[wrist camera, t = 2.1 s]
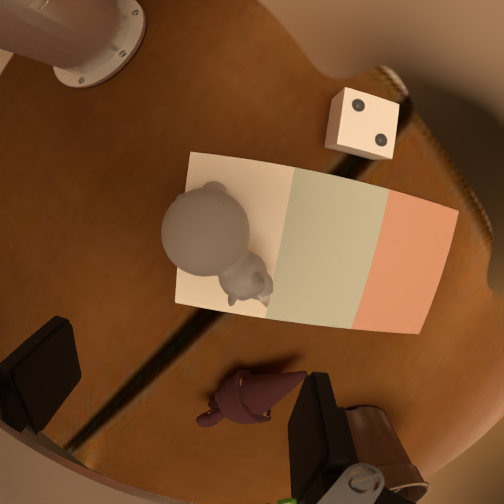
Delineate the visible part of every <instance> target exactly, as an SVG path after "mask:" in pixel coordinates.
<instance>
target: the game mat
mask: <svg viewBox="0 0 504 504" xmlns="http://www.w3.org/2000/svg"><path fill="white" fill-rule="evenodd" d="M212 181H215V182H219V183H221V184H223V185H224V186H225V188H226V190H227V194H229V195H231V196H232V197H233V198H234V199H236V200H237V201H238V203H239V204H240V205H241V206H242V208H243V209H244V211H245V213H246V214H247V218H248V222H249V229H250V235H249V241H248V246H247V248H248V251H249V252H252V253H255V254H257V255H258V256H259V257H261V259H262V260H263V261H264V263H265V265H266V268H267V273H268V274H269V275H270V276H271V278H272V280H273V292H272V293H271V294H270V296H269V297H270V303H269V306H268V307H267V308H266V307H265V306H264V305H263V304H262V303H261V302H260V301H259V300H255V299H252V298H250V299H248V300H245V301H240V300H238V299H237V300H236V302H235V304H234V305H233V306H229V304H228V295H227V294H226V293H225V292H224V291H223V289H222V288H221V286H220V283H219V278H218V276H207V277H202V276H195V275H192V274H189V273H187V272H184V271H183V270H181V269H180V268H178V267H177V280H176V296H175V303H180V304H185V305H191V306H196V307H201V308H207V309H212V310H218V311H224V312H229V313H235V314H241V315H248V316H254V317H261V318H267V319H274V320H281V321H289V322H296V323H304V324H312V325H320V326H329V327H338V328H348V329H358V330H369V331H381V332H394V333H409V334H419V333H420V330H421V328H422V326H423V323H424V321H425V318H426V316H427V313H428V311H429V308H430V306H431V303H432V301H433V298H434V295H435V292H436V290H437V287H438V284H439V281H440V278H441V275H442V272H443V269H444V266H445V262H446V259H447V256H448V252H449V249H450V245H451V241H452V238H453V234H454V230H455V226H456V221H457V217H458V213H459V211H457V210H454V209H451V208H449V207H446V206H443V205H440V204H436V203H433V202H430V201H427V200H424V199H421V198H417V197H414V196H411V195H407V194H404V193H400V192H397V191H393V190H390V189H386V188H382V187H379V186H375V185H371V184H367V183H363V182H359V181H355V180H351V179H347V178H343V177H338V176H334V175H329V174H325V173H320V172H315V171H311V170H306V169H301V168H295V167H290V166H285V165H279V164H274V163H268V162H262V161H256V160H249V159H243V158H236V157H229V156H221V155H214V154H205V153H197V152H190V159H189V166H188V173H187V180H186V188H185V193H186V192H188V191H190V190H193V189H197V188H202V187H203V186H204V185H205V184H206V183H208V182H212Z"/></svg>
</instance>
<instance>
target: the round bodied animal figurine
mask: <svg viewBox="0 0 504 504" xmlns="http://www.w3.org/2000/svg"><path fill="white" fill-rule="evenodd" d="M249 235H250V229H249V222H248V218H247V214H246V213H245V211H244V209H243V208H242V206H241V205H240V204H239V203H238V201H237V200H236V199H234V198H233V197H232V196H231V195H229V194H227V190H226V188H225V186H224V185H223V184H221V183H219V182H215V181H212V182H208V183H206V184H205V185H204V186H203V187H202V188H197V189H193V190H190V191H188V192H186V193H181V194H179V195H177V197H176V199H175V201H174V202H173V203H172V204H171V205H170V206H169V208H168V209H167V211H166V213H165V215H164V218H163V221H162V227H161V238H162V243H163V247H164V249H165V252H166V254H167V255H168V257H169V258H170V260H171V261H172V262H173V263H174V264H175V265H176V266H177V267H178V268H180V269H181V270H183V271H184V272H187V273H189V274H192V275H195V276H202V277H207V276H218V278H219V283H220V286H221V288H222V289H223V291H224V292H225V293H226V294H227V295H228V304H229V306H233V305H234V304H235V302H236V300H237V299H238V300H240V301H245V300H248V299H250V298H252V299H255V300H259V301H260V302H261V303H262V304H263V305H264V306H265V307H266V308H267V307H268V306H269V303H270V297H269V296H270V294H271V293H272V292H273V280H272V278H271V276H270V275H269V274H268V273H267V268H266V265H265V263H264V261H263V260H262V259H261V257H259V256H258V255H257V254H255V253H252V252H249V251H248V248H247V246H248V241H249Z"/></svg>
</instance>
